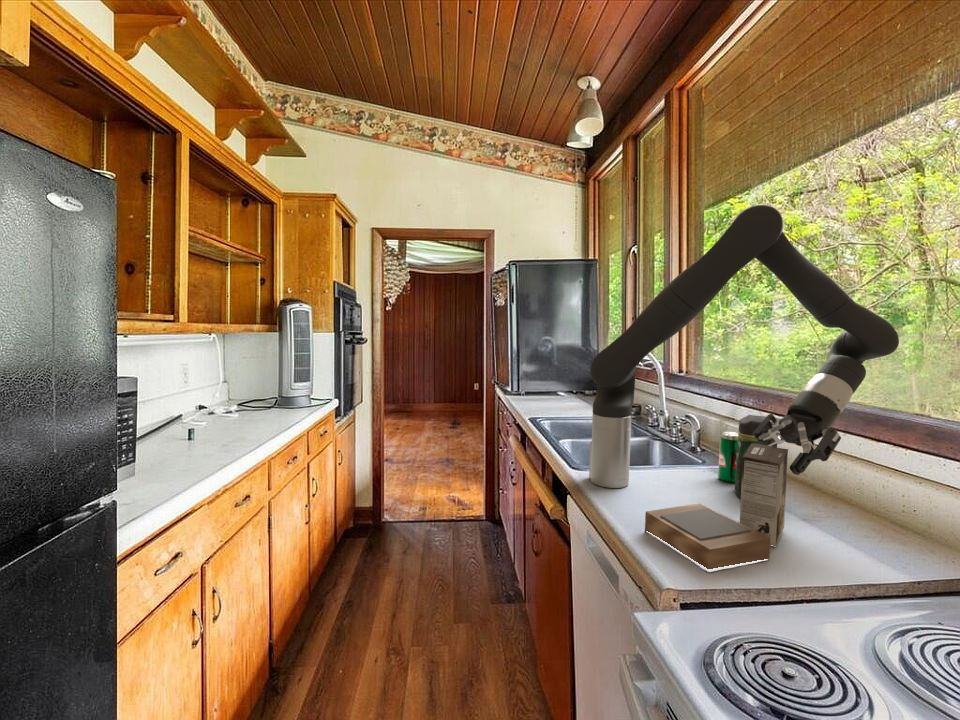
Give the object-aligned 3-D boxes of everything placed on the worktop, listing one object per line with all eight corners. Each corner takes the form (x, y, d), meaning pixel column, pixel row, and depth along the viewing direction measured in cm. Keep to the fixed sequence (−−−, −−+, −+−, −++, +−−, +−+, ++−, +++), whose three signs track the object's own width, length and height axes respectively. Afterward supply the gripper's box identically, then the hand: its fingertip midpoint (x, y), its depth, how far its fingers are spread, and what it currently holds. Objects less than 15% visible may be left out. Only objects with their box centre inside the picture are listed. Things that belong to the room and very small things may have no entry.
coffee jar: (775, 505, 107) (781, 422, 106) (735, 499, 111) (739, 419, 109) (771, 491, 116) (776, 414, 114) (733, 486, 119) (738, 411, 118)
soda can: (716, 476, 127) (719, 430, 126) (738, 478, 125) (740, 432, 124) (719, 482, 122) (722, 435, 121) (742, 484, 121) (745, 437, 119)
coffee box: (747, 519, 99) (751, 442, 96) (784, 528, 95) (789, 448, 92) (737, 537, 92) (741, 455, 89) (777, 548, 88) (781, 462, 85)
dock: (644, 531, 94) (645, 509, 94) (698, 522, 98) (699, 501, 98) (708, 573, 79) (709, 547, 79) (768, 560, 83) (770, 536, 83)
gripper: (778, 384, 101) (732, 443, 98) (849, 395, 87) (798, 463, 85) (795, 408, 103) (750, 466, 100) (867, 422, 90) (818, 489, 87)
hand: (772, 464), depth 93 cm, fingers open, 8 cm apart
